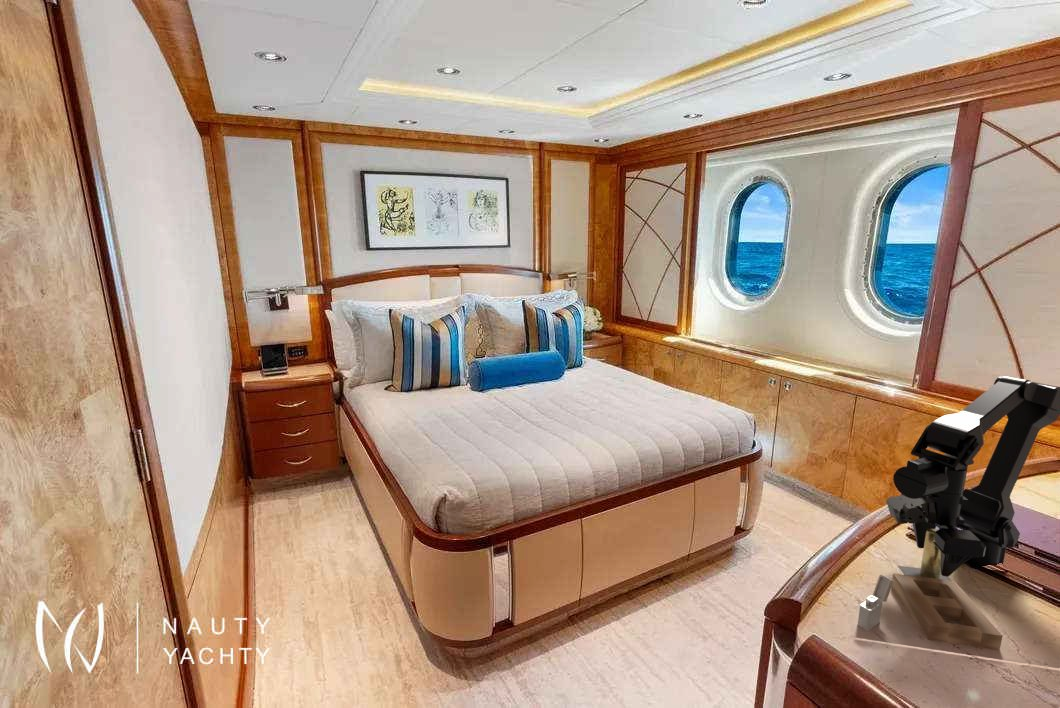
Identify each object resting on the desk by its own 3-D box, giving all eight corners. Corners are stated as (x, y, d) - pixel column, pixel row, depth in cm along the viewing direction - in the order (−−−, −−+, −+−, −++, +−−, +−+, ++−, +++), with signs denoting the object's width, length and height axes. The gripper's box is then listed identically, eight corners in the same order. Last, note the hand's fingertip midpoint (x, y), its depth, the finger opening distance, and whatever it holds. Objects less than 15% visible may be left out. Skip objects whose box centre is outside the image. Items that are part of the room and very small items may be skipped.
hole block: (951, 595, 94) (954, 580, 94) (999, 651, 81) (1002, 635, 81) (891, 587, 97) (893, 573, 96) (927, 641, 84) (930, 625, 83)
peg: (934, 575, 100) (941, 529, 98) (942, 584, 97) (949, 538, 95) (916, 573, 100) (923, 527, 99) (923, 582, 98) (931, 536, 96)
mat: (943, 572, 101) (943, 570, 101) (962, 594, 94) (963, 593, 94) (897, 566, 103) (897, 565, 103) (913, 588, 96) (914, 587, 96)
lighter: (867, 632, 86) (873, 591, 84) (856, 626, 87) (862, 585, 86) (888, 617, 89) (894, 577, 88) (877, 611, 91) (883, 571, 89)
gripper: (875, 463, 106) (866, 530, 109) (918, 507, 88) (906, 585, 91) (937, 468, 103) (926, 536, 106) (994, 514, 85) (979, 594, 88)
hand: (932, 561), depth 98 cm, fingers open, 9 cm apart
